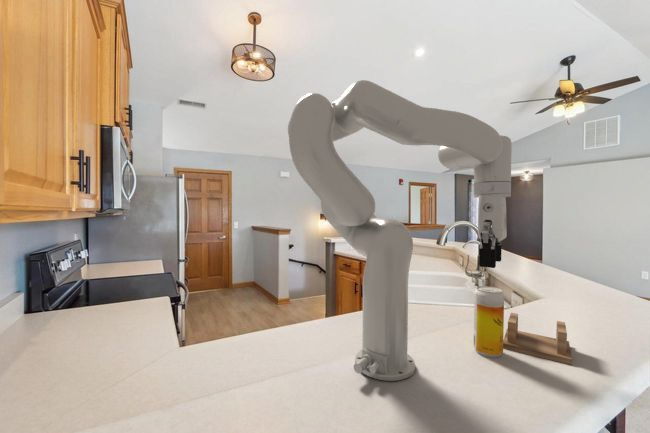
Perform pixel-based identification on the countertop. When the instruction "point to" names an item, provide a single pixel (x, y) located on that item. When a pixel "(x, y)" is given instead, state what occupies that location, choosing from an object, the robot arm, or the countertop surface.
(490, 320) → the beer can
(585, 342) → the countertop surface
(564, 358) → the holder
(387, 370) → the robot arm
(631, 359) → the countertop surface
